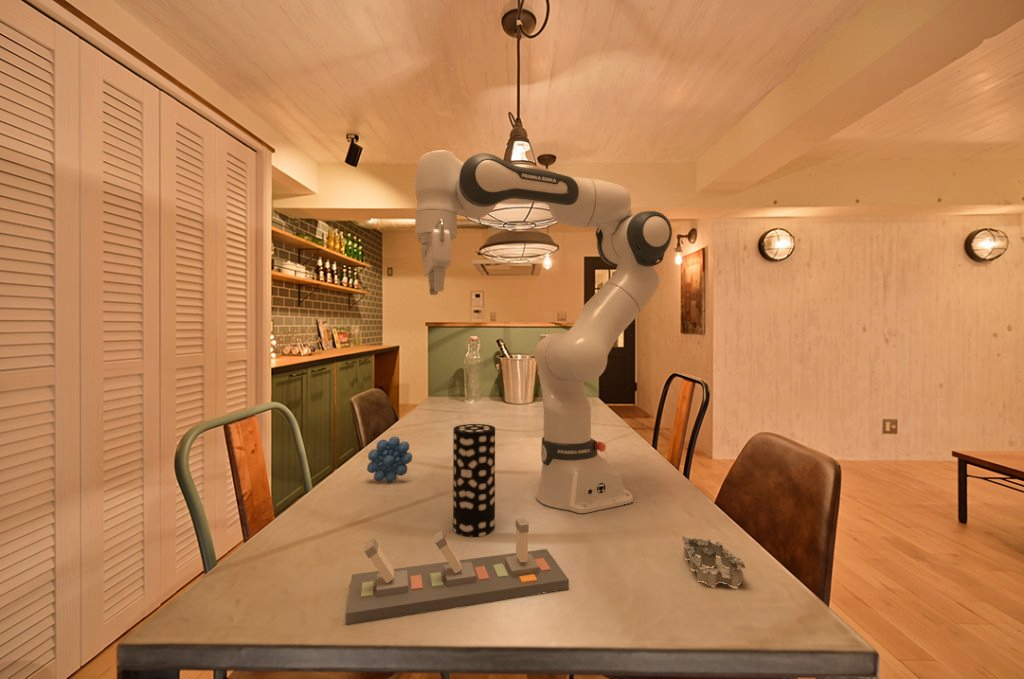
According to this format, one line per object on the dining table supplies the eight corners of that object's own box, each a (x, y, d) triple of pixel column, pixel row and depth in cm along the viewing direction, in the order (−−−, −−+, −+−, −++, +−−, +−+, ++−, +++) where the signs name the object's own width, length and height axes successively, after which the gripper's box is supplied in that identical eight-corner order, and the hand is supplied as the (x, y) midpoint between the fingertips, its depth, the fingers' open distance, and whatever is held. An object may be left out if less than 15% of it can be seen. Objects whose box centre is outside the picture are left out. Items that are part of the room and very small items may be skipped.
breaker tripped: (523, 553, 73) (523, 517, 73) (528, 561, 71) (528, 524, 71) (515, 554, 73) (515, 518, 73) (519, 562, 70) (520, 525, 70)
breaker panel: (546, 557, 78) (546, 543, 78) (568, 589, 69) (568, 573, 69) (352, 583, 70) (352, 567, 70) (346, 624, 60) (346, 605, 60)
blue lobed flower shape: (415, 477, 121) (415, 432, 121) (410, 485, 114) (410, 438, 114) (371, 477, 121) (371, 432, 121) (364, 485, 114) (364, 438, 114)
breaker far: (394, 569, 68) (373, 537, 67) (394, 578, 65) (373, 545, 64) (385, 574, 68) (365, 543, 67) (385, 584, 65) (364, 551, 64)
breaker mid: (460, 560, 70) (441, 530, 70) (462, 568, 68) (443, 537, 67) (452, 565, 70) (433, 535, 69) (454, 574, 68) (435, 543, 67)
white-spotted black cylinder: (462, 540, 84) (462, 434, 84) (447, 523, 92) (447, 426, 91) (501, 531, 88) (502, 430, 88) (484, 516, 96) (484, 422, 95)
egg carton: (747, 592, 68) (748, 566, 68) (696, 589, 70) (696, 562, 69) (724, 557, 79) (724, 534, 79) (680, 554, 80) (680, 531, 80)
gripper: (458, 218, 87) (458, 289, 88) (444, 238, 107) (444, 296, 107) (425, 215, 86) (425, 288, 86) (417, 237, 105) (417, 296, 106)
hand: (436, 293), depth 97 cm, fingers open, 8 cm apart
